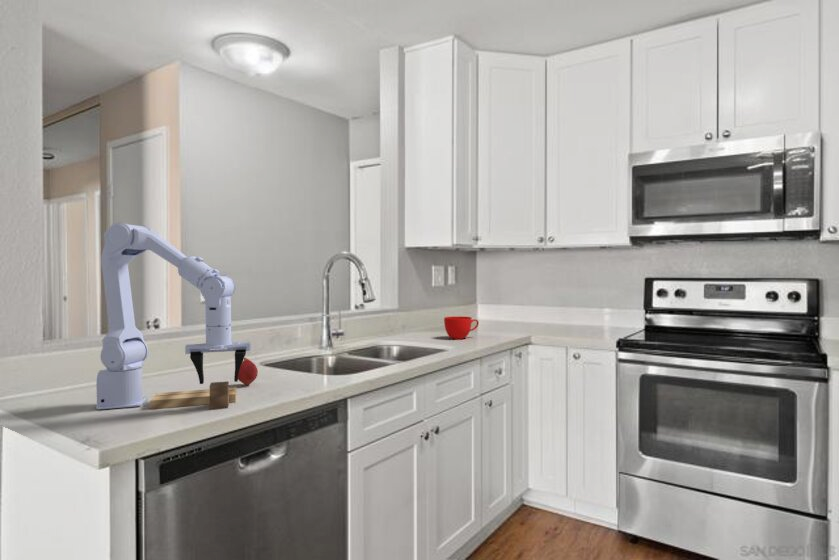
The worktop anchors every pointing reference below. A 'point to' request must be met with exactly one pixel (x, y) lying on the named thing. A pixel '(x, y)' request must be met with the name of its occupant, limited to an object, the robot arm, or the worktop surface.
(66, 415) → the worktop surface
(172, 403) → the board
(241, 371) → the onion
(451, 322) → the ceramic cup
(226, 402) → the brown wooden block
